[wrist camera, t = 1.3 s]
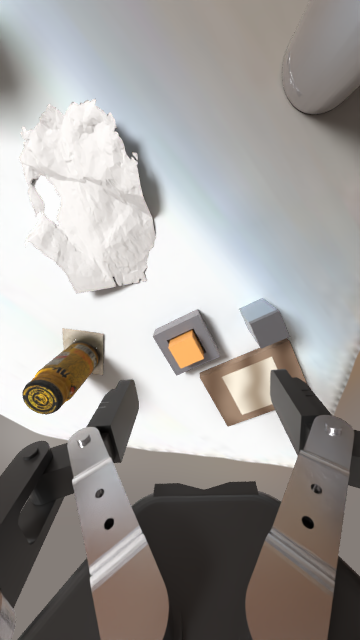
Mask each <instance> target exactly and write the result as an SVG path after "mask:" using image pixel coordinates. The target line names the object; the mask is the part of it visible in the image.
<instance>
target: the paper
mask: <svg viewBox="0 0 360 640" xmlns="http://www.w3.org/2000/svg"><path fill="white" fill-rule="evenodd" d="M95 103H96V99H93V100H92V101H89V100H87V101H85V102H84V103H80V105H78V104H77V103H75V102H72V103H71V104H70V106H69V107H68V109H67V110H66V112H65V115H63V114H62V113H61V112H60V111H59V110H57V109H56V107H53V106H51V105H50V104H49V105H48V106H47V109H46V111H45V112H44V113H43V114H42V116H41V117H40V118H39V120H40V122H39V123H38V124H37V126H36V127H35V128H34V129H30V130H28V131H26V128H25V127H24V126H23V127H22V130H23V131H22V132H20V133H21V136H22V137H23V139H24V140H26V142H23V145H24V148H23V150H22V153H21V154H20V156H19V160H20V162H21V163H22V167H23V172H24V176H25V179H26V182H27V184H28V186H29V189H28V194H29V200H30V202H31V204H32V206H33V208H34V211H35V217H36V216H37V213H39V212H41V216H40V218H39V219H38V221H37V223H36V225H35V227H34V228H33V230H31V232H30V233H29V234H28V236H27V237H26V241H25V246H26V244H27V243H28V242H30V243H31V244H33V246H34V247H35V248H36V249H39V250H40V251H41V252H42V253H43V254H44V255H45V256H47V257H48V258H50V259H52V260H53V261H55V262H56V263H57V265H58V266H59V267H61V268H62V270H63V271H64V272H65V273H66V275H67V276H68V278H69V281H70V283H71V284H72V286H73V288H74V290H75V292H76V294H77V293H83V292H89V291H95V290H101V289H106V288H112V287H116V285H115V284H116V283H115V282H114V279H113V278H112V277H113V276H114V277H115V280H116V282H117V284H118V285H119V286H122V283H123V284H124V285H127V284H132V283H131V282H133V283H139V279H141V280H142V281H143V282H146V281H147V279H146V278H145V274H144V273H143V272H144V270H145V269H146V268H147V258H148V256H149V251H150V250H151V249H152V248H153V247H154V241H155V238H156V235H155V231H154V226H153V218H152V216H151V214H150V211H149V209H148V207H147V204H146V202H145V200H144V197H143V193H142V189H141V185H140V180H139V174H138V168H137V164H138V155H137V153H134V152H132V154H133V156H134V157H135V158H136V159H137V161H136V160H134V158H133V157H131V160H130V158H129V157H128V155H127V154H126V152H125V148H124V144H123V141H122V139H121V138H120V137H119V135H118V132H116V131H115V132H114V130H115V129H114V128H116V129H117V127H116V125H115V119H114V118H113V116H112V114H111V113H108V115H106V114H105V112H104V111H103V110H101V109H100V108H99V107H97V106H95ZM40 175H42V176H45V177H46V179H47V180H48V181H49V182H50V183H51V184H52V185H54V188H55V190H56V192H57V194H58V195H59V197H60V201H61V207H60V208H59V209H58V211H59V212H58V215H57V221H58V222H59V225H56V224H55V223H54V222H53V221H51V220H49V219H48V218H47V217H46V216H45V214H44V208H45V207H44V202H43V200H42V198H41V196H40V195H39V194H38V192H37V191H36V188H35V186H32V184H31V182H32V180H33V179H36V180H37V179H38V178H39V177H40ZM121 282H122V283H121Z"/></svg>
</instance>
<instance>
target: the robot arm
mask: <svg viewBox="0 0 360 640" xmlns="http://www.w3.org/2000/svg"><path fill="white" fill-rule="evenodd" d="M282 81H283V86H284V90H285V93H286V95H287V97H288V99H289V100H290V102H291V103H292V105H293V106H295V107H296V108H297V109H298V110H300V111H302V112H305V113H309V114H320V113H324V112H327V111H330V110H332V109H333V108H335V107H336V106H338V105H339V104H340V103H342V102H343V101H344V100H345V99H346V98H347V97H348V96H349V95H350V94H351V93H352V92H353V91H354V90H356V89H357V88H358V87H359V86H360V0H310V1H309V3H308V5H307V7H306V9H305V11H304V13H303V16H302V18H301V20H300V22H299V24H298V26H297V28H296V30H295V32H294V35H293V37H292V39H291V41H290V43H289V45H288V47H287V50H286V53H285V56H284V61H283V67H282ZM270 397H271V401H272V404H273V406H274V408H275V410H276V412H277V414H278V416H279V418H280V420H281V423H282V425H283V427H284V429H285V431H286V433H287V435H288V437H289V439H290V441H291V443H292V445H293V447H294V449H295V451H296V453H297V455H298V458H297V460H296V463H295V466H294V469H293V472H292V474H291V477H290V480H289V483H288V485H287V488H286V491H285V493H284V496H283V499H282V502H281V501H279V500H278V499H276V498H274V497H272V496H270V495H268V494H266V493H263V492H260V491H258V490H257V486H256V482H255V481H254V482H229V483H225V484H222V485H219V486H216V487H212V488H209V489H205V490H203V489H199V488H194V487H191V486H187V485H183V484H179V483H173V484H155V488H154V493H153V494H150V495H148V496H146V497H144V498H142V499H140V500H139V501H137V502H136V503H135V504H134V505H133V506H131V504H130V502H129V500H128V497H127V495H126V492H125V490H124V488H123V485H122V483H121V481H120V478H119V476H118V474H117V471H116V469H115V466H114V464H113V463H121V462H122V459H123V455H124V452H125V449H126V446H127V443H128V440H129V437H130V434H131V431H132V428H133V425H134V422H135V419H136V416H137V413H138V409H139V401H138V396H137V392H136V387H135V383H134V380H120V381H119V383H118V385H117V387H116V389H112V390H111V391H109V392H108V393H107V394H106V395H105V396H104V398H103V400H102V401H101V403H100V405H99V407H98V409H97V410H96V412H95V413H94V415H93V417H92V419H91V420H90V422H89V424H88V425H87V427H86V428H83V429H81V430H79V431H77V432H76V433H75V434H74V435H73V436H72V437H71V438H70V439H69V441H68V443H66V444H62V445H59V446H56V447H53V448H50V446H49V444H48V443H47V442H46V441H38V442H35V443H32V444H30V445H28V446H27V447H25V448H24V449H22V451H20V452H19V453H18V454H17V455H16V457H15V458H14V460H13V461H12V462H11V463H10V464H9V466H8V467H7V468H6V470H5V471H4V472H3V473H2V475H1V476H0V640H11V639H12V636H13V633H14V629H15V623H16V616H15V612H14V609H13V608H14V606H15V604H16V601H17V599H18V597H19V595H20V593H21V591H22V588H23V586H24V584H25V582H26V580H27V577H28V575H29V573H30V571H31V569H32V566H33V564H34V562H35V560H36V558H37V555H38V553H39V551H40V549H41V547H42V545H43V542H44V540H45V538H46V536H47V534H48V532H49V529H50V527H51V525H52V523H53V521H54V518H55V516H56V514H57V512H58V510H59V507H60V505H61V503H62V501H63V499H64V497H65V496H67V495H70V494H73V493H75V498H76V504H77V509H78V514H79V518H80V524H81V529H82V535H83V540H84V545H85V550H86V555H87V558H86V560H85V561H84V562H83V563H82V564H81V566H80V567H79V568H78V569H77V570H76V571H75V572H74V574H73V575H72V576H71V577H70V578H69V580H68V581H67V582H66V583H65V584H64V585H63V587H62V588H61V589H60V590H59V591H58V593H57V594H56V595H55V596H54V597H53V598H52V599H51V601H50V602H49V603H48V604H47V605H46V607H45V608H44V609H43V610H42V611H41V612H40V614H39V615H38V616H37V617H36V618H35V619H34V621H33V622H32V623H31V624H30V625H29V626H28V628H27V629H26V630H25V631H24V632H23V633H22V635H21V636H20V637H19V638H18V640H360V576H359V575H358V574H357V573H356V572H355V571H354V570H352V568H351V567H350V566H349V565H348V564H347V563H345V561H343V560H342V559H341V558H340V557H339V556H338V554H339V547H340V539H341V532H342V525H343V517H344V510H345V502H346V496H347V488H348V485H350V486H353V487H357V488H360V431H357V430H353V428H352V427H351V426H350V425H349V424H348V423H347V422H346V421H344V420H342V419H340V418H338V417H335V416H332V415H331V414H330V412H329V411H328V410H327V409H326V407H325V406H324V405H323V404H322V402H321V401H320V400H319V399H318V397H317V396H315V394H314V393H313V391H311V389H310V388H309V386H308V385H307V384H306V383H305V382H304V381H302V380H301V379H299V378H297V377H294V378H292V377H291V375H290V374H289V373H288V371H287V370H286V369H277V370H271V372H270ZM28 498H29V499H28ZM27 500H28V501H27ZM26 501H27V502H26ZM25 503H26V504H25ZM24 505H25V506H24ZM23 506H24V507H23ZM22 508H23V509H22ZM21 510H22V511H21Z"/></svg>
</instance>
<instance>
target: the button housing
mask: <svg viewBox="0 0 360 640" xmlns="http://www.w3.org/2000/svg"><path fill="white" fill-rule="evenodd" d="M191 329H194V331H195V333H196V334H197V336H198V338H199V340H200V342H201V344H202V347H203V352H204V359H202V360H200V361H197V362H195V363H193V364H190V365H188V366H186V367H183V368H180V367H179V365H178V363H177V362H176V360H175V358H174V356H173V355H172V353H171V351H170V350H169V348H168V347H169V343H170V339H171V338H174V337H176V336H178V335H180V334H182V333H184V332H186V331H189V330H191ZM153 338H154V339H155V341H156V343H157V344H158V346H159V348H160V349H161V351H162V353H163V354H164V356H165V358H166V359H167V361H168V363H169V364H170V366H171V367H172V369H173V371H174V372H175V374H176V376H177V375H179V374H181V373H184V372H186V371H188V370H191V369H193V368H195V367H198V366H200V365H202V364H205V363H207V362H209V361H212V360H214V359H217V358H219V357H220V355H219V351H218V348H217V346H216V344H215V342H214V340H213V338H212V336H211V334H210V332H209V330H208V328H207V326H206V324H205V322H204V320H203V319H202V317H201V315H200V313H199V311H198V309H197V310H195V311H193V312H191V313H189V314H187V315H185V316H183V317H180V318H178V319H176V320H174V321H172V322H170V323H168V324H166V325H164V326H162V327H160V328H158V329H156V330H155V332H154V335H153Z"/></svg>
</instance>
